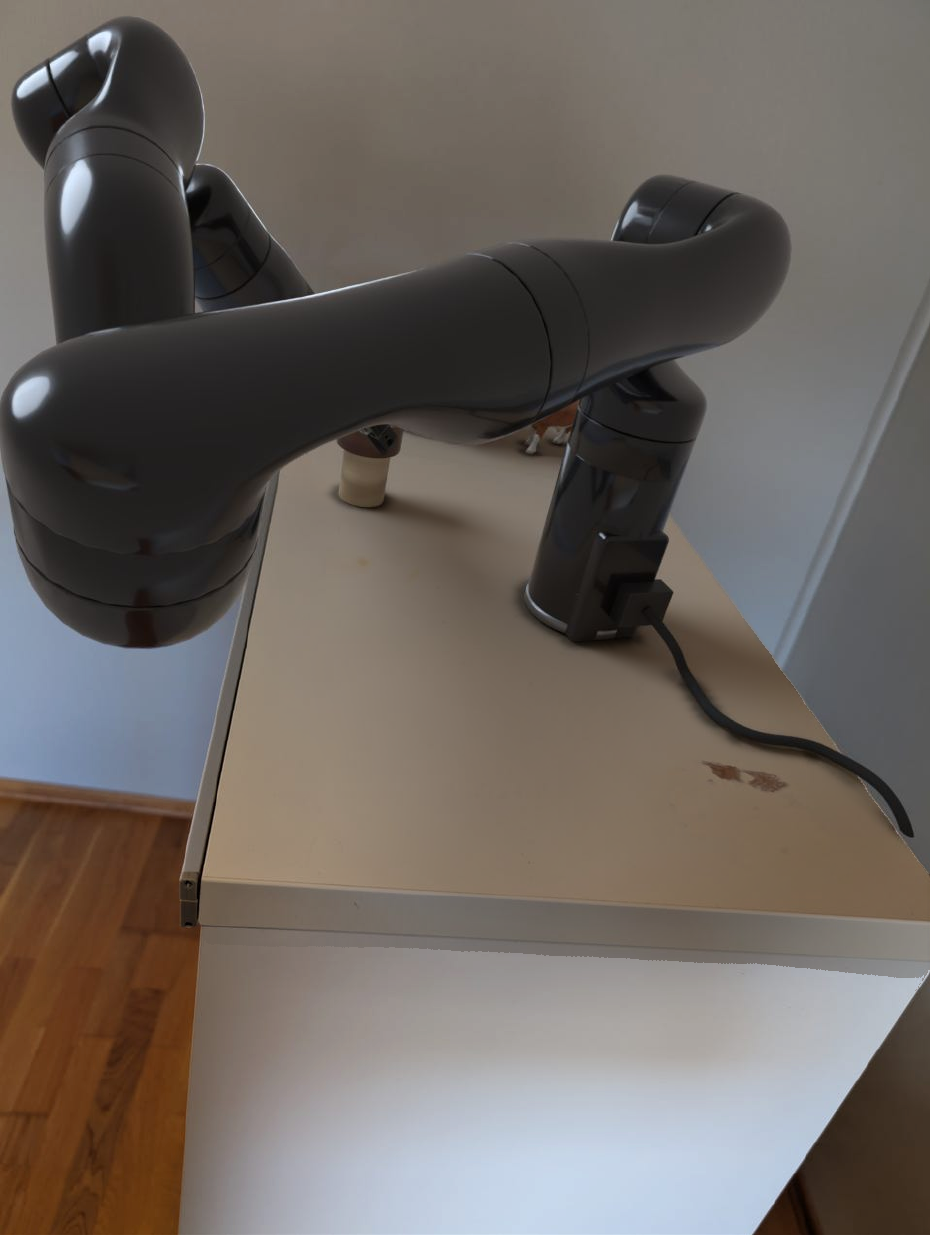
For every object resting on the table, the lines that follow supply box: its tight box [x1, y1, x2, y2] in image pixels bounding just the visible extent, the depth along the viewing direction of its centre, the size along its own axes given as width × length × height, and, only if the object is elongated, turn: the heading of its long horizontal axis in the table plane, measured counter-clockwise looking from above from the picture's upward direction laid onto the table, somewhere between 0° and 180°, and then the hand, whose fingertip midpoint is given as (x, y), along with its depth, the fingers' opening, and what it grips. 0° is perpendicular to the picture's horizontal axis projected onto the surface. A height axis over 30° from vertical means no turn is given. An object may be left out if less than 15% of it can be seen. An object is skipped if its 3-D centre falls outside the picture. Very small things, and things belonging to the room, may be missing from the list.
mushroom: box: [336, 425, 405, 508], centre depth 81 cm, size 6×6×8 cm
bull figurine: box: [524, 400, 579, 455], centre depth 102 cm, size 4×13×8 cm, turn 115°
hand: (357, 428), depth 79 cm, fingers open, 8 cm apart
